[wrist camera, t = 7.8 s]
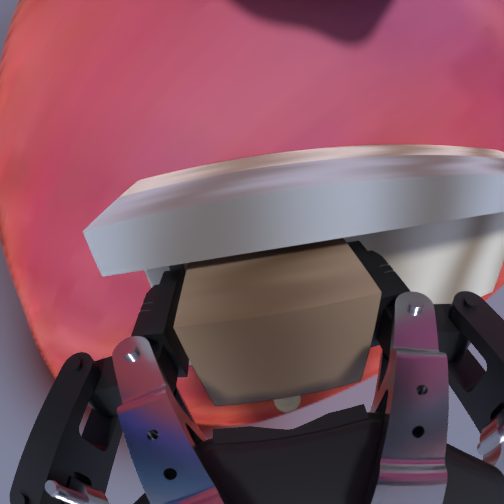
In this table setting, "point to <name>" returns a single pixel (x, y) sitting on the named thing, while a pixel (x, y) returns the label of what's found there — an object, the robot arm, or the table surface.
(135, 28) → the table surface
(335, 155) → the grey flat tray
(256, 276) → the brown block with peg
